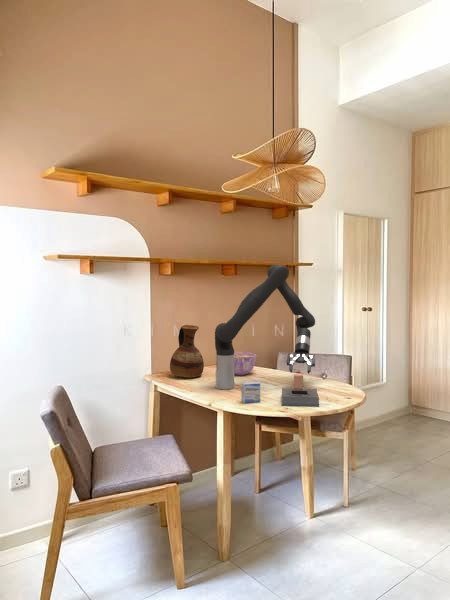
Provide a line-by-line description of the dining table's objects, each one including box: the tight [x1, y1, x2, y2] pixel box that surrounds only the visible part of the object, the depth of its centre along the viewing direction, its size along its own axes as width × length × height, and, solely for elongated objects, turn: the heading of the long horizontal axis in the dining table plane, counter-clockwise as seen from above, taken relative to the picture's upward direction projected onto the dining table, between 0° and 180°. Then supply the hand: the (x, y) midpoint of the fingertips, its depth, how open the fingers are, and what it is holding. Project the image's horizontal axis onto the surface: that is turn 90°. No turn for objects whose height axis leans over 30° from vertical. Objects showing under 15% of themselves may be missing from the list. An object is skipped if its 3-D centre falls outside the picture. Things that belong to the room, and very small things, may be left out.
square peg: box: [293, 373, 304, 389], centre depth 220 cm, size 4×4×9 cm
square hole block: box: [281, 387, 320, 408], centre depth 205 cm, size 16×16×4 cm
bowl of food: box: [234, 351, 257, 376], centre depth 267 cm, size 20×20×12 cm
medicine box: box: [240, 381, 261, 404], centre depth 204 cm, size 8×4×9 cm, turn 105°
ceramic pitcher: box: [169, 324, 205, 379], centre depth 261 cm, size 20×20×30 cm
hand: (299, 372), depth 224 cm, fingers open, 8 cm apart
